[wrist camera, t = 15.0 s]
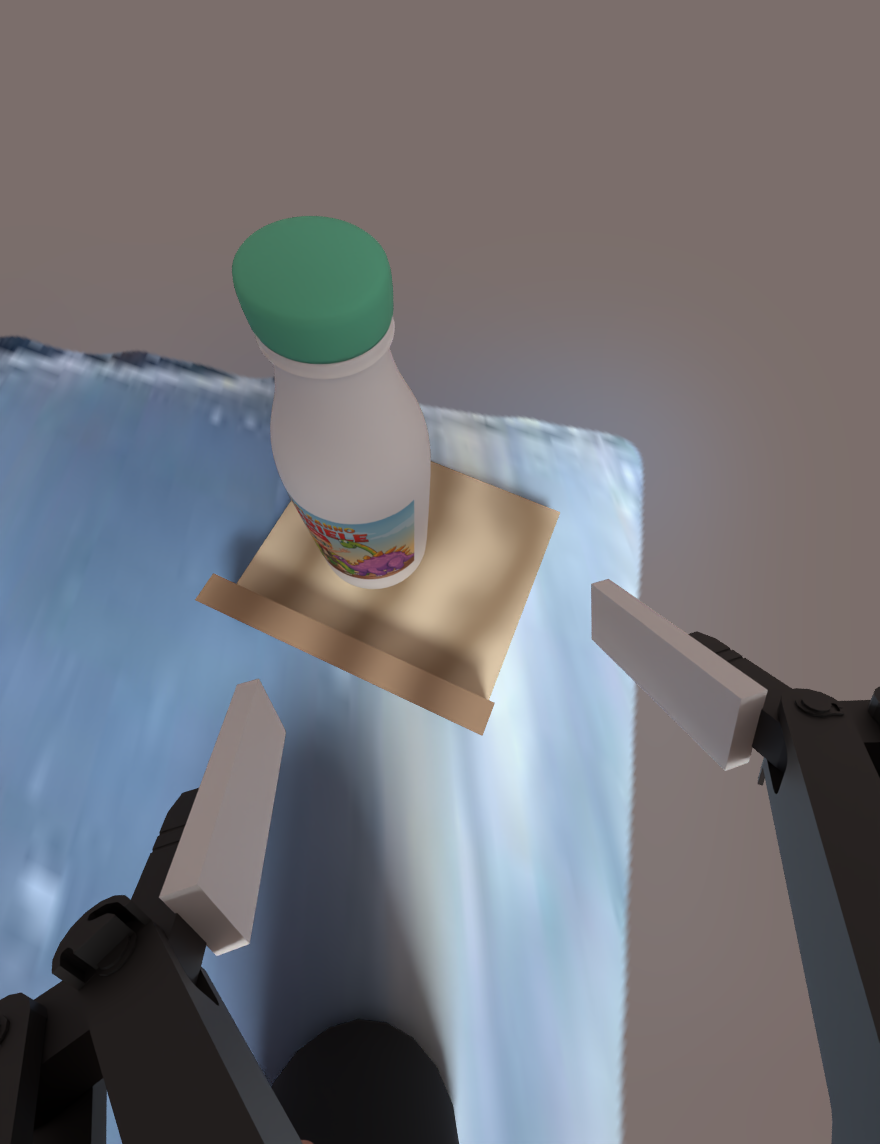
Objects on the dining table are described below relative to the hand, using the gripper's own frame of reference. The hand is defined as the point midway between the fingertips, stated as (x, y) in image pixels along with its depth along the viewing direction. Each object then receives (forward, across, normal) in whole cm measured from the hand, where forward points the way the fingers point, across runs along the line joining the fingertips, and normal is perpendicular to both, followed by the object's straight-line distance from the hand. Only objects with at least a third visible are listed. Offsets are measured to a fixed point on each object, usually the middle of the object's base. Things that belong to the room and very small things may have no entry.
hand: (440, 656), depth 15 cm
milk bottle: (+16, -2, -1) cm, 17 cm away
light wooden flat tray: (+17, 0, -4) cm, 17 cm away
